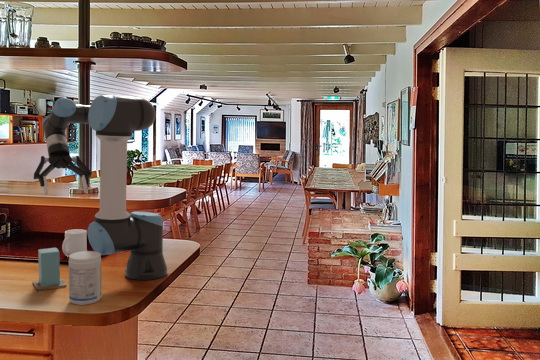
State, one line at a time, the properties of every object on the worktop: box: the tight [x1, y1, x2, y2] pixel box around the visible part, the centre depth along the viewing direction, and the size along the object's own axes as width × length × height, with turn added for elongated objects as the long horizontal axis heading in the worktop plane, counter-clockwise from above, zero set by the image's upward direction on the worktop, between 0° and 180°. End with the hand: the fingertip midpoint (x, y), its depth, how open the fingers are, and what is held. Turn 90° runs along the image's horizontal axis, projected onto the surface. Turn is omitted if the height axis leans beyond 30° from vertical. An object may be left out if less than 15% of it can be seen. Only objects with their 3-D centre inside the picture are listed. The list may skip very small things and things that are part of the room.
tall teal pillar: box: [37, 247, 61, 287], centre depth 159 cm, size 6×6×11 cm
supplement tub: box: [68, 250, 103, 306], centre depth 146 cm, size 10×10×15 cm
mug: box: [61, 228, 88, 258], centre depth 193 cm, size 12×8×10 cm
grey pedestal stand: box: [32, 276, 67, 292], centre depth 159 cm, size 9×9×9 cm
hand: (66, 191), depth 173 cm, fingers open, 13 cm apart
